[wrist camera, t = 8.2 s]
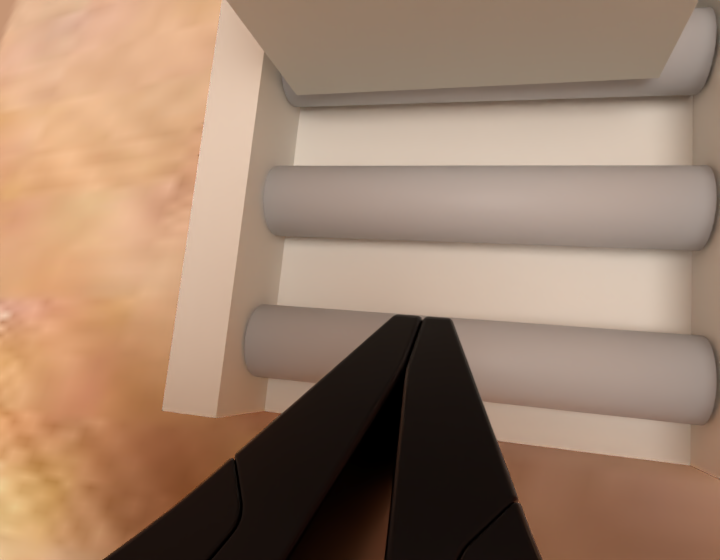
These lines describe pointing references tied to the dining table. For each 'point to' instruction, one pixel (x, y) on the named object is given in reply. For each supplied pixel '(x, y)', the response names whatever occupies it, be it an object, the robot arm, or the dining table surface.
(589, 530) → the dining table surface
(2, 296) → the dining table surface
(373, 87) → the beige block
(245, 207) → the roller bed
